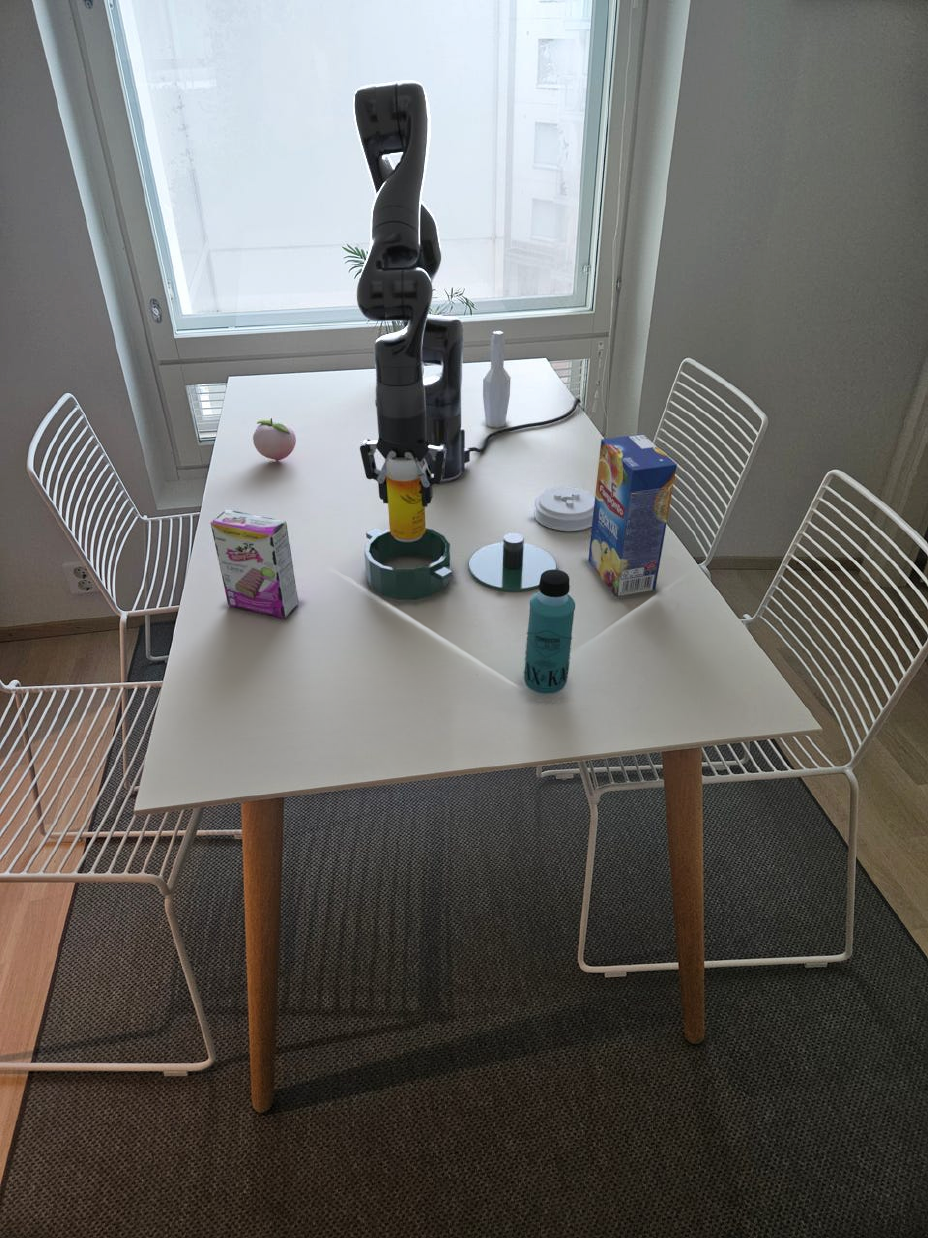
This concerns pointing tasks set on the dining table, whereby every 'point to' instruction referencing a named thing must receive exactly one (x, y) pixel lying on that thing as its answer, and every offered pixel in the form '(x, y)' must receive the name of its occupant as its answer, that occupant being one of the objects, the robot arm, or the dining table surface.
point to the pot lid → (510, 564)
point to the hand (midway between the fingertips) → (406, 502)
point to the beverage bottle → (549, 634)
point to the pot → (407, 580)
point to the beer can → (405, 500)
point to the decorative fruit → (274, 439)
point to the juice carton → (630, 513)
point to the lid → (565, 508)
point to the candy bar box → (255, 562)
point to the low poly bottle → (496, 384)
